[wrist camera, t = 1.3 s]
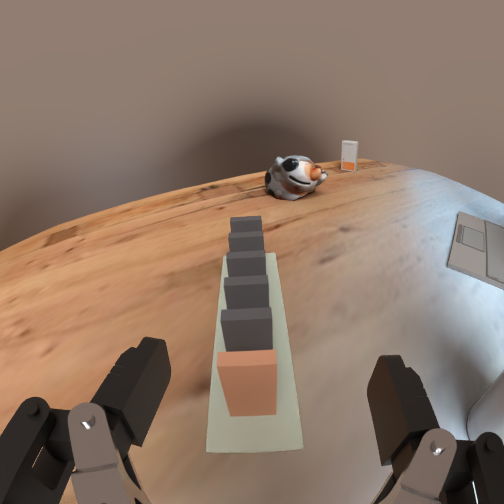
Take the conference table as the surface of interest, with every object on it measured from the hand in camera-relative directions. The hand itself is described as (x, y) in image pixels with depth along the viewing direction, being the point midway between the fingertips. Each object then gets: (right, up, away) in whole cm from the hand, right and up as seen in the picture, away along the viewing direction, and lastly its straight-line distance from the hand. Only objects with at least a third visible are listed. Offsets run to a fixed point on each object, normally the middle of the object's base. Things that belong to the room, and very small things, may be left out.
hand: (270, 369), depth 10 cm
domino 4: (-1, -8, +28) cm, 29 cm away
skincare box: (+38, +37, +97) cm, 111 cm away
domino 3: (-1, -5, +32) cm, 33 cm away
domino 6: (-1, -13, +18) cm, 23 cm away
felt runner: (-1, -6, +30) cm, 31 cm away
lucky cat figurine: (+12, +21, +75) cm, 79 cm away
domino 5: (-1, -10, +23) cm, 25 cm away
